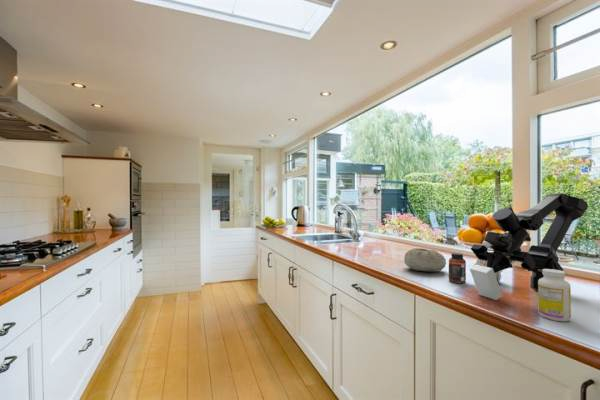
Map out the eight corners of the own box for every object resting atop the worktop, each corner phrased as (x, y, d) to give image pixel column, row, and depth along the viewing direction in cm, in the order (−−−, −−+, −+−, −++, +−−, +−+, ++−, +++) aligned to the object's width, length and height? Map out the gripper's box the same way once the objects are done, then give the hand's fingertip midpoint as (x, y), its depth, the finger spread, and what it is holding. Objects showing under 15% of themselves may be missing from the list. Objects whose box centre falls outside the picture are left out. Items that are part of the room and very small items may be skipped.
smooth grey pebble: (433, 266, 140) (433, 246, 140) (454, 275, 122) (454, 252, 122) (398, 266, 139) (398, 246, 139) (414, 275, 121) (414, 252, 121)
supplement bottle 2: (554, 312, 80) (554, 267, 80) (578, 322, 74) (577, 273, 74) (531, 312, 80) (531, 267, 80) (553, 322, 73) (553, 273, 74)
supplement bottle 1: (468, 284, 108) (468, 255, 108) (451, 283, 109) (451, 254, 109) (462, 280, 114) (462, 252, 114) (446, 279, 115) (446, 251, 115)
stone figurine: (480, 281, 112) (480, 231, 113) (483, 278, 117) (483, 230, 118) (499, 284, 108) (499, 233, 108) (502, 281, 113) (502, 231, 113)
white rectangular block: (485, 289, 97) (476, 264, 95) (502, 295, 91) (492, 268, 90) (478, 294, 96) (469, 268, 95) (496, 300, 90) (486, 272, 89)
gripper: (475, 222, 104) (451, 252, 100) (530, 226, 86) (503, 262, 83) (490, 243, 106) (467, 273, 102) (546, 251, 88) (521, 288, 85)
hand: (487, 274), depth 93 cm, fingers closed, pressing on white rectangular block
